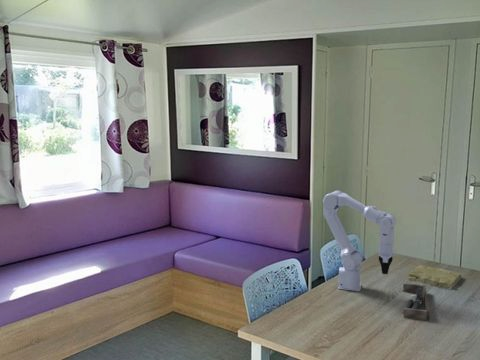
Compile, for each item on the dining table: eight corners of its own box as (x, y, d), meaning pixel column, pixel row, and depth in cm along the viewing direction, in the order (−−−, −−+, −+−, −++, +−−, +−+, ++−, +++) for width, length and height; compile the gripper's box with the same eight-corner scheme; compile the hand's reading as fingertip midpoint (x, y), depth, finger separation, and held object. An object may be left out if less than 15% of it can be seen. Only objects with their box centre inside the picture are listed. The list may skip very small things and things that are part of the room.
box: (404, 317, 190) (404, 308, 189) (403, 290, 216) (403, 282, 215) (428, 320, 187) (429, 311, 186) (424, 292, 213) (425, 285, 213)
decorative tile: (418, 270, 243) (419, 263, 243) (461, 279, 231) (462, 271, 231) (405, 281, 229) (406, 273, 228) (450, 291, 216) (451, 283, 216)
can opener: (411, 298, 208) (412, 284, 207) (424, 301, 205) (425, 286, 204) (401, 315, 192) (402, 300, 191) (415, 318, 189) (416, 302, 188)
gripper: (396, 248, 200) (394, 280, 202) (396, 239, 214) (394, 268, 216) (378, 247, 202) (376, 278, 204) (379, 237, 216) (378, 267, 218)
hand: (384, 273), depth 210 cm, fingers closed
